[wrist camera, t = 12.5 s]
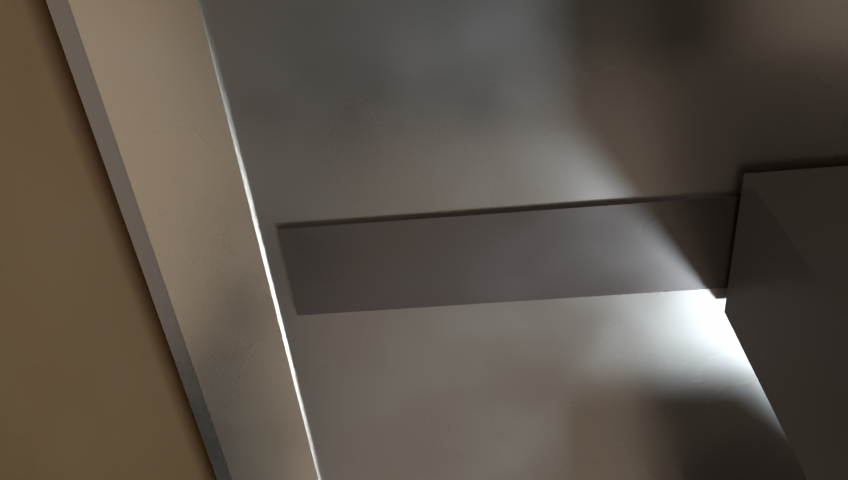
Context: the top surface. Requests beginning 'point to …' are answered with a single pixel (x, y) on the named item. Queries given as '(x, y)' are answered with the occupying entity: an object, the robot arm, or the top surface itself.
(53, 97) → the top surface
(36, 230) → the top surface
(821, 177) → the breaker mid
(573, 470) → the panel
